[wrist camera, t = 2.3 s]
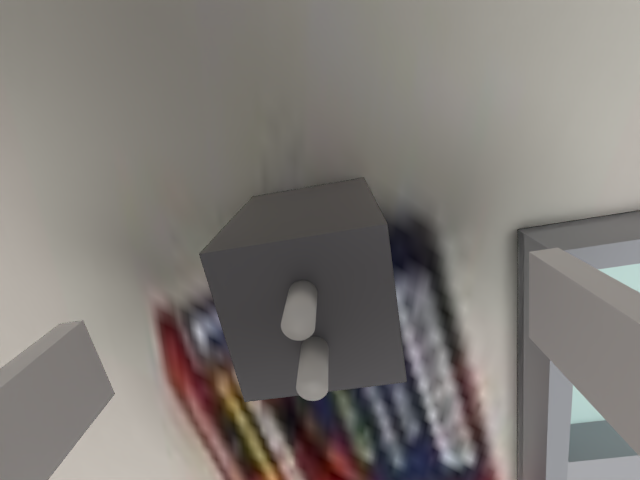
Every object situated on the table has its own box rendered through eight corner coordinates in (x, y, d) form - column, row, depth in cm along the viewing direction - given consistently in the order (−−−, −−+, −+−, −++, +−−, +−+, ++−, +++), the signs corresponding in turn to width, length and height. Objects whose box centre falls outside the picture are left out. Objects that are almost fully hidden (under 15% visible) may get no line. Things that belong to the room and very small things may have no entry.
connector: (252, 196, 16) (174, 280, 8) (363, 177, 16) (398, 245, 8) (276, 294, 18) (231, 446, 10) (377, 279, 17) (419, 426, 9)
